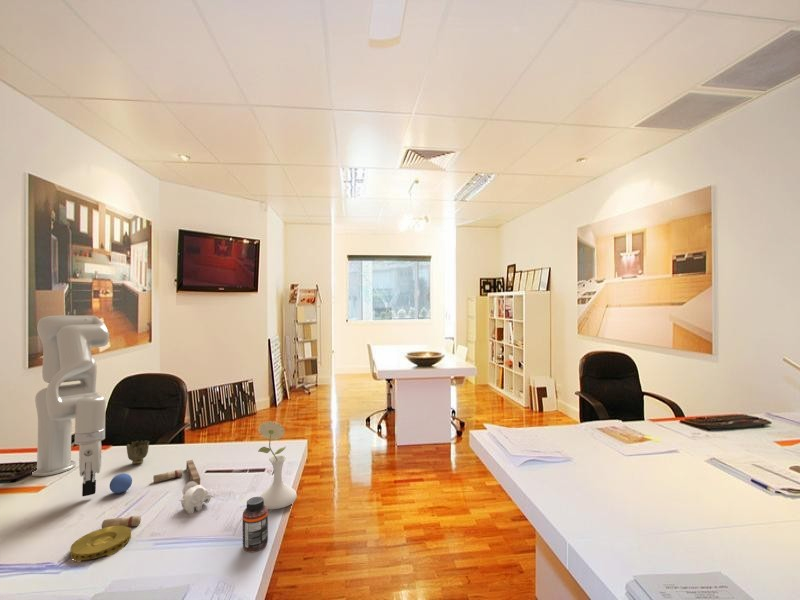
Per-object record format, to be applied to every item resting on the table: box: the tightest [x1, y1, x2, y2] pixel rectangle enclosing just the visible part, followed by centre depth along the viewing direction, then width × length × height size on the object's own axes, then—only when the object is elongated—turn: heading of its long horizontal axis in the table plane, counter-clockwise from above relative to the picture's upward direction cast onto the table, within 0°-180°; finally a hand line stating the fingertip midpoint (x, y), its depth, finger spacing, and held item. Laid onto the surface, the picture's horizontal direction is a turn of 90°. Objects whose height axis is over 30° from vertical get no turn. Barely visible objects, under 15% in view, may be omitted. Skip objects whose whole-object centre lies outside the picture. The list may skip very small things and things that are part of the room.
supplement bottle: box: [242, 496, 269, 553], centre depth 94 cm, size 6×6×11 cm
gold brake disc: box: [69, 526, 132, 562], centre depth 95 cm, size 12×12×2 cm
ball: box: [109, 472, 133, 494], centre depth 124 cm, size 6×6×6 cm
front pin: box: [101, 515, 142, 529], centre depth 103 cm, size 2×2×8 cm
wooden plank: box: [185, 459, 201, 485], centre depth 135 cm, size 20×2×3 cm, turn 36°
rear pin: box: [153, 469, 183, 483], centre depth 133 cm, size 2×2×8 cm
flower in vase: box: [257, 420, 298, 510], centre depth 116 cm, size 13×11×25 cm
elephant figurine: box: [178, 480, 215, 514], centre depth 113 cm, size 8×10×7 cm
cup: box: [125, 439, 150, 466], centre depth 148 cm, size 8×7×8 cm
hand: (89, 494), depth 120 cm, fingers closed
